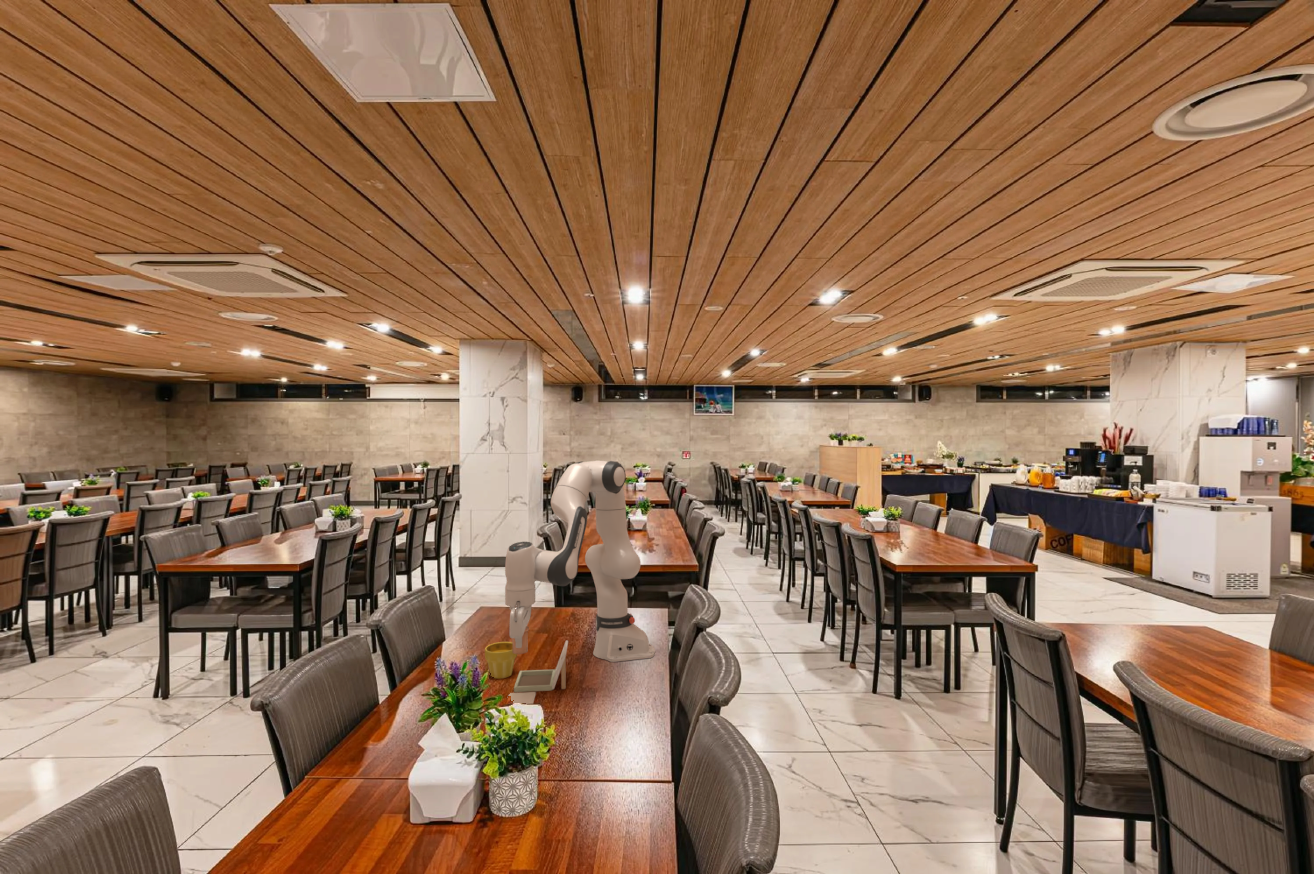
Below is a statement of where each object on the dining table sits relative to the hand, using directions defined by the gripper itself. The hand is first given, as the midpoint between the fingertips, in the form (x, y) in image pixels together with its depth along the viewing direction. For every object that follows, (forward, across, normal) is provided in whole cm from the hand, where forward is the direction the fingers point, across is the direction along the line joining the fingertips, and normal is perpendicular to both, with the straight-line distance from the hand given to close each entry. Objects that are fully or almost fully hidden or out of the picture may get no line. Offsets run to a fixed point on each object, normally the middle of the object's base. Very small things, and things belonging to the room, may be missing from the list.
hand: (520, 643), depth 181 cm
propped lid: (+17, +12, -11) cm, 23 cm away
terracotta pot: (+2, 0, 0) cm, 2 cm away
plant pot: (+17, +20, +9) cm, 28 cm away
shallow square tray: (+17, +12, -3) cm, 21 cm away
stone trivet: (+17, 0, 0) cm, 17 cm away
